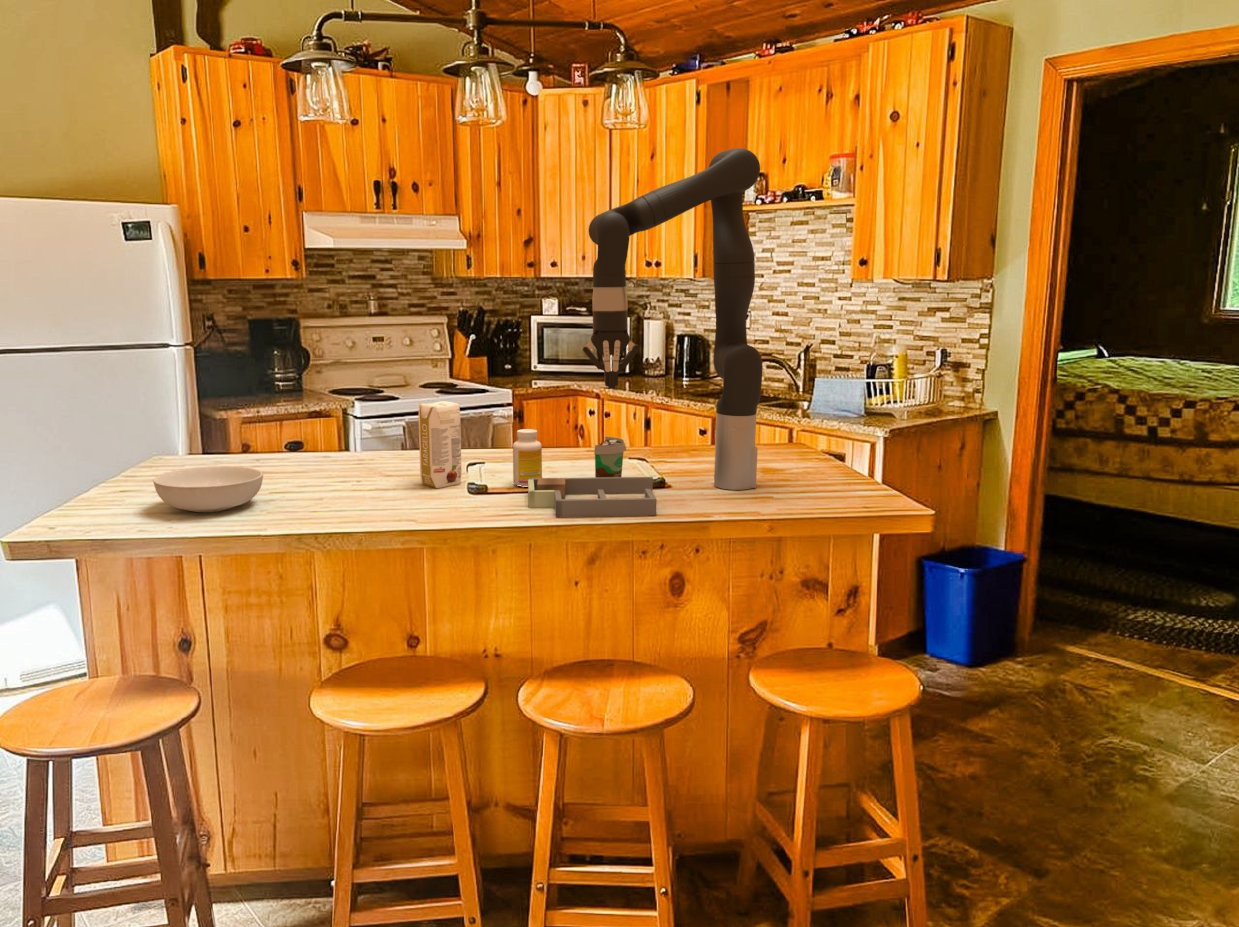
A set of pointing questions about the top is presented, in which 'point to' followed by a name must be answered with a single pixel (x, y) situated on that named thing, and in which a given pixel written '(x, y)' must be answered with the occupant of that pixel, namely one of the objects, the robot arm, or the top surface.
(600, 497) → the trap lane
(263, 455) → the top surface
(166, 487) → the serving bowl
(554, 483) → the walnut block
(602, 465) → the food container
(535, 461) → the supplement bottle
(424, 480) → the juice carton
